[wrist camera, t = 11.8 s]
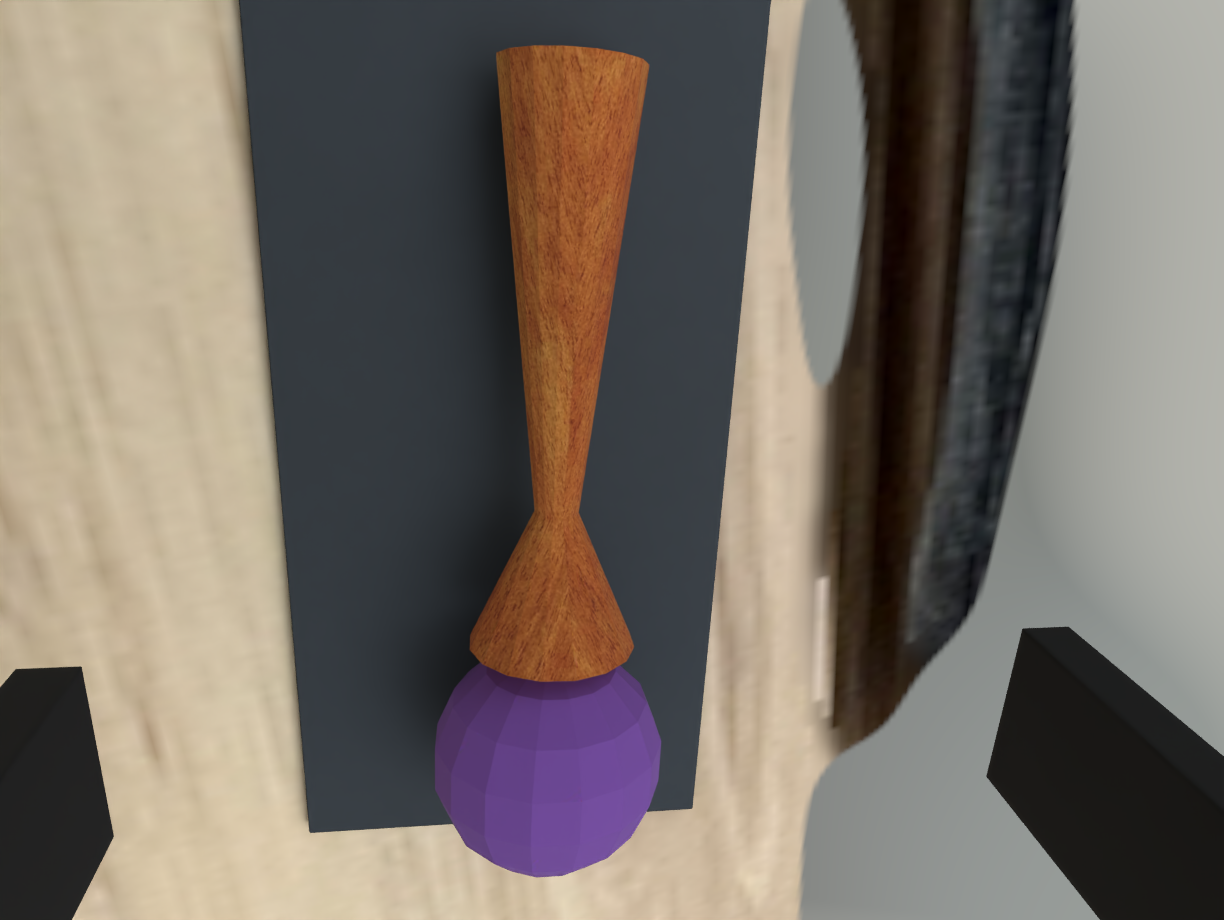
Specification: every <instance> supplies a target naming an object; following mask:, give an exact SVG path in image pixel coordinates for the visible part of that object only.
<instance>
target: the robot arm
mask: <svg viewBox="0 0 1224 920" xmlns="http://www.w3.org/2000/svg"><path fill="white" fill-rule="evenodd" d="M987 778H988V779H989V780H990V782H991V783H992V784H993V785H994V787H995V788H996V789H997V790H998V792H999V793H1000V794H1001V796H1002V797H1003V798H1004V799H1005V801H1006V802H1007V803H1008V804H1009V806H1010V807H1011V808H1012V809H1013V811H1014V812H1015V813H1016V814H1017V816H1018V817H1019V818H1020V820H1021V821H1022V822H1023V823H1024V825H1025V826H1026V827H1027V828H1028V829H1029V831H1030V832H1031V833H1032V835H1033V836H1034V837H1035V838H1036V840H1037V841H1038V842H1039V843H1040V845H1041V846H1042V847H1043V848H1044V850H1045V851H1046V852H1047V854H1048V855H1049V856H1050V857H1051V859H1052V860H1053V861H1054V862H1055V864H1056V865H1057V866H1058V867H1059V869H1060V870H1061V871H1062V872H1063V874H1064V875H1065V876H1066V877H1067V879H1068V880H1069V881H1070V882H1071V884H1072V885H1073V886H1074V887H1075V889H1076V890H1077V891H1078V892H1079V894H1080V895H1081V896H1082V898H1083V899H1084V900H1085V901H1086V903H1087V904H1088V905H1089V906H1090V908H1091V909H1092V910H1093V911H1094V913H1095V914H1096V915H1097V916H1098V918H1099V919H1100V920H1224V756H1223V755H1221V754H1220V753H1219V752H1218V751H1217V750H1215V749H1214V748H1213V747H1212V746H1211V745H1209V744H1208V743H1207V742H1206V741H1204V740H1203V739H1202V738H1201V737H1200V736H1198V735H1197V734H1196V733H1195V732H1194V731H1193V730H1191V729H1190V728H1189V727H1188V726H1187V725H1185V724H1184V723H1183V722H1182V721H1181V720H1179V719H1178V718H1177V717H1176V716H1175V715H1173V714H1172V713H1171V712H1170V711H1169V710H1168V709H1166V708H1165V707H1164V706H1163V705H1162V704H1160V703H1159V702H1158V701H1157V700H1155V699H1154V698H1153V697H1152V696H1151V695H1149V694H1148V693H1147V692H1146V691H1145V690H1144V689H1142V688H1141V687H1140V686H1139V685H1137V684H1136V683H1135V682H1134V681H1133V680H1131V679H1130V678H1129V677H1128V676H1127V675H1126V674H1124V673H1123V672H1122V671H1121V670H1119V669H1118V668H1117V667H1116V666H1115V665H1114V664H1112V663H1111V662H1110V661H1109V660H1108V659H1106V658H1105V657H1104V656H1103V655H1102V654H1100V653H1099V652H1098V651H1097V650H1096V649H1094V648H1093V647H1092V646H1091V645H1090V644H1088V643H1087V642H1086V641H1085V640H1084V639H1082V638H1081V637H1080V636H1079V635H1078V634H1077V633H1075V632H1074V631H1073V630H1072V629H1071V628H1069V627H1051V628H1027V629H1022V633H1021V637H1020V641H1019V645H1018V649H1017V653H1016V657H1015V662H1014V666H1013V670H1012V674H1011V678H1010V682H1009V686H1008V690H1007V694H1006V699H1005V703H1004V707H1003V711H1002V715H1001V719H1000V723H999V727H998V731H997V735H996V740H995V743H994V748H993V752H992V756H991V760H990V764H989V768H988V773H987ZM113 837H114V835H113V830H112V824H111V819H110V814H109V809H108V803H107V798H106V793H105V788H104V782H103V777H102V772H101V767H100V761H99V756H98V751H97V746H96V740H95V735H94V730H93V725H92V719H91V714H90V709H89V704H88V698H87V693H86V688H85V683H84V677H83V672H82V667H58V668H33V669H15V671H14V672H13V673H12V674H11V675H10V677H9V678H8V679H7V680H6V681H5V683H4V684H3V685H2V686H1V687H0V920H72V918H73V916H74V914H75V912H76V910H77V908H78V906H79V905H80V903H81V901H82V899H83V897H84V895H85V893H86V891H87V889H88V887H89V885H90V883H91V881H92V879H93V877H94V875H95V873H96V871H97V869H98V867H99V865H100V863H101V861H102V859H103V857H104V855H105V853H106V851H107V849H108V847H109V845H110V843H111V841H112V839H113Z"/></svg>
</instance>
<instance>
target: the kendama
mask: <svg viewBox="0 0 1224 920" xmlns="http://www.w3.org/2000/svg"><path fill="white" fill-rule="evenodd" d="M496 62H497V74H498V86H499V98H500V109H501V121H502V133H503V144H504V156H505V168H506V180H507V191H508V203H509V215H510V227H511V238H512V250H513V262H514V274H515V285H516V297H517V309H518V321H519V332H520V344H521V356H522V368H523V379H524V391H525V403H526V415H527V426H528V438H529V450H530V462H531V473H532V485H533V497H534V509H535V510H534V512H533V514H532V516H531V518H530V520H529V522H528V524H527V526H526V528H525V530H524V532H523V534H522V536H521V537H520V539H519V541H518V543H517V545H516V547H515V549H514V551H513V553H512V555H511V557H510V559H509V561H508V563H507V565H506V566H505V568H504V570H503V572H502V574H501V576H500V578H499V580H498V582H497V584H496V586H495V588H494V590H493V592H492V594H491V596H490V597H489V599H488V601H487V603H486V605H485V607H484V609H483V611H482V613H481V615H480V617H479V619H478V621H477V623H476V625H475V626H474V628H473V630H472V632H471V634H470V651H471V652H472V653H473V654H474V655H475V656H476V658H477V659H478V660H479V661H480V663H479V664H478V665H476V666H475V667H474V668H472V669H471V670H470V671H469V672H468V673H467V674H466V675H465V676H464V678H463V679H462V680H461V681H460V682H459V683H458V684H457V686H456V687H455V688H454V690H453V692H452V694H451V696H450V698H449V700H448V703H447V705H446V707H445V709H444V711H443V713H442V715H441V717H440V719H439V721H438V724H437V733H436V743H435V790H436V792H437V794H438V796H439V798H440V800H441V802H442V804H443V806H444V808H445V809H446V811H447V813H448V815H449V817H450V819H451V821H452V823H453V824H454V826H455V828H456V829H457V831H458V833H459V834H460V836H461V838H462V839H463V841H464V843H465V845H466V846H467V847H469V848H470V849H472V850H473V851H475V852H477V853H478V854H480V855H481V856H483V857H484V858H486V859H487V860H489V861H491V862H492V863H494V864H496V865H498V866H500V867H503V868H505V869H507V870H510V871H512V872H516V873H521V874H525V875H529V876H533V877H549V876H563V875H565V874H568V873H571V872H574V871H576V870H579V869H582V868H585V867H587V866H589V865H592V864H594V863H596V862H599V861H601V860H604V859H606V858H608V857H609V856H610V855H611V854H612V853H614V852H615V851H616V850H617V849H618V848H619V847H620V846H622V845H623V844H624V843H625V842H626V841H627V840H628V839H630V838H631V836H632V834H633V833H634V831H635V829H636V828H637V826H638V824H639V823H640V821H641V819H642V818H643V816H644V815H645V813H646V811H647V810H648V808H649V806H650V803H651V800H652V797H653V794H654V791H655V789H656V786H657V783H658V779H659V765H660V751H661V739H660V736H659V733H658V730H657V727H656V724H655V721H654V718H653V715H652V713H651V710H650V707H649V705H648V702H647V700H646V697H645V695H644V692H643V689H642V687H641V684H640V683H639V682H638V681H637V680H636V679H635V678H634V677H632V676H631V675H630V674H629V673H628V672H627V671H626V670H625V669H623V668H622V667H621V666H620V665H621V664H623V663H625V662H626V661H627V660H628V658H629V656H630V654H631V652H632V650H633V648H634V644H633V641H632V638H631V636H630V633H629V630H628V628H627V625H626V623H625V621H624V618H623V616H622V614H621V611H620V609H619V607H618V604H617V602H616V600H615V597H614V595H613V592H612V590H611V588H610V585H609V583H608V581H607V578H606V576H605V574H604V571H603V569H602V567H601V564H600V562H599V559H598V557H597V555H596V552H595V550H594V548H593V545H592V543H591V541H590V538H589V536H588V534H587V531H586V529H585V526H584V524H583V522H582V519H581V517H580V515H579V507H580V501H581V494H582V488H583V482H584V475H585V469H586V463H587V456H588V450H589V444H590V437H591V431H592V425H593V418H594V412H595V406H596V400H597V393H598V387H599V381H600V374H601V368H602V362H603V355H604V349H605V343H606V336H607V330H608V324H609V318H610V311H611V305H612V299H613V292H614V286H615V280H616V273H617V267H618V261H619V254H620V248H621V242H622V236H623V229H624V223H625V217H626V210H627V204H628V198H629V191H630V185H631V179H632V172H633V166H634V160H635V154H636V147H637V141H638V135H639V128H640V122H641V116H642V109H643V103H644V97H645V90H646V84H647V78H648V72H649V64H648V63H647V62H646V61H645V60H644V59H642V58H639V57H636V56H633V55H629V54H626V53H622V52H616V51H610V50H604V49H598V48H588V47H576V46H543V45H533V46H523V47H513V48H508V49H505V50H502V51H499V52H496Z"/></svg>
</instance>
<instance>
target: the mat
mask: <svg viewBox="0 0 1224 920" xmlns="http://www.w3.org/2000/svg"><path fill="white" fill-rule="evenodd" d="M770 4H771V0H239V5H240V17H241V29H242V41H243V53H244V64H245V76H246V88H247V100H248V112H249V124H250V135H251V147H252V159H253V171H254V183H255V194H256V206H257V218H258V230H259V242H260V253H261V265H262V277H263V289H264V301H265V312H266V324H267V336H268V348H269V360H270V372H271V383H272V395H273V407H274V419H275V431H276V442H277V454H278V466H279V478H280V490H281V501H282V513H283V525H284V537H285V549H286V560H287V572H288V584H289V596H290V608H291V619H292V631H293V643H294V655H295V667H296V679H297V690H298V702H299V714H300V726H301V738H302V749H303V761H304V773H305V785H306V797H307V808H308V820H309V831H310V833H316V832H332V831H348V830H364V829H380V828H395V827H411V826H427V825H443V824H453V823H452V821H451V819H450V817H449V815H448V813H447V811H446V809H445V808H444V806H443V804H442V802H441V800H440V798H439V796H438V794H437V792H436V790H435V743H436V733H437V724H438V721H439V719H440V717H441V715H442V713H443V711H444V709H445V707H446V705H447V703H448V700H449V698H450V696H451V694H452V692H453V690H454V688H455V687H456V686H457V684H458V683H459V682H460V681H461V680H462V679H463V678H464V676H465V675H466V674H467V673H468V672H469V671H470V670H471V669H472V668H474V667H475V666H476V665H478V664H479V663H480V661H479V660H478V659H477V658H476V656H475V655H474V654H473V653H472V652H471V651H470V634H471V632H472V630H473V628H474V626H475V625H476V623H477V621H478V619H479V617H480V615H481V613H482V611H483V609H484V607H485V605H486V603H487V601H488V599H489V597H490V596H491V594H492V592H493V590H494V588H495V586H496V584H497V582H498V580H499V578H500V576H501V574H502V572H503V570H504V568H505V566H506V565H507V563H508V561H509V559H510V557H511V555H512V553H513V551H514V549H515V547H516V545H517V543H518V541H519V539H520V537H521V536H522V534H523V532H524V530H525V528H526V526H527V524H528V522H529V520H530V518H531V516H532V514H533V512H534V510H535V509H534V497H533V485H532V473H531V462H530V450H529V438H528V426H527V415H526V403H525V391H524V379H523V368H522V356H521V344H520V332H519V321H518V309H517V297H516V285H515V274H514V262H513V250H512V238H511V227H510V215H509V203H508V191H507V180H506V168H505V156H504V144H503V133H502V121H501V109H500V98H499V86H498V74H497V62H496V52H499V51H502V50H505V49H508V48H513V47H523V46H533V45H543V46H576V47H588V48H598V49H604V50H610V51H616V52H622V53H626V54H629V55H633V56H636V57H639V58H642V59H644V60H645V61H646V62H647V63H648V64H649V72H648V78H647V84H646V90H645V97H644V103H643V109H642V116H641V122H640V128H639V135H638V141H637V147H636V154H635V160H634V166H633V172H632V179H631V185H630V191H629V198H628V204H627V210H626V217H625V223H624V229H623V236H622V242H621V248H620V254H619V261H618V267H617V273H616V280H615V286H614V292H613V299H612V305H611V311H610V318H609V324H608V330H607V336H606V343H605V349H604V355H603V362H602V368H601V374H600V381H599V387H598V393H597V400H596V406H595V412H594V418H593V425H592V431H591V437H590V444H589V450H588V456H587V463H586V469H585V475H584V482H583V488H582V494H581V501H580V507H579V515H580V517H581V519H582V522H583V524H584V526H585V529H586V531H587V534H588V536H589V538H590V541H591V543H592V545H593V548H594V550H595V552H596V555H597V557H598V559H599V562H600V564H601V567H602V569H603V571H604V574H605V576H606V578H607V581H608V583H609V585H610V588H611V590H612V592H613V595H614V597H615V600H616V602H617V604H618V607H619V609H620V611H621V614H622V616H623V618H624V621H625V623H626V625H627V628H628V630H629V633H630V636H631V638H632V641H633V644H634V648H633V650H632V652H631V654H630V656H629V658H628V660H627V661H626V662H625V663H623V664H621V665H620V666H621V667H622V668H623V669H625V670H626V671H627V672H628V673H629V674H630V675H631V676H632V677H634V678H635V679H636V680H637V681H638V682H639V683H640V684H641V687H642V689H643V692H644V695H645V697H646V700H647V702H648V705H649V707H650V710H651V713H652V715H653V718H654V721H655V724H656V727H657V730H658V733H659V736H660V739H661V751H660V765H659V779H658V783H657V786H656V789H655V791H654V794H653V797H652V800H651V803H650V806H649V808H648V810H647V811H646V812H649V811H665V810H680V809H692V806H693V796H694V786H695V776H696V765H697V755H698V745H699V734H700V724H701V714H702V704H703V693H704V683H705V673H706V662H707V652H708V642H709V632H710V621H711V611H712V601H713V590H714V580H715V570H716V560H717V549H718V539H719V529H720V518H721V508H722V498H723V488H724V477H725V467H726V457H727V446H728V436H729V426H730V416H731V405H732V395H733V385H734V374H735V364H736V354H737V344H738V333H739V323H740V313H741V302H742V292H743V282H744V272H745V261H746V251H747V241H748V230H749V220H750V210H751V200H752V189H753V179H754V169H755V158H756V148H757V138H758V128H759V117H760V107H761V97H762V87H763V76H764V66H765V56H766V45H767V35H768V25H769V15H770Z"/></svg>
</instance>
